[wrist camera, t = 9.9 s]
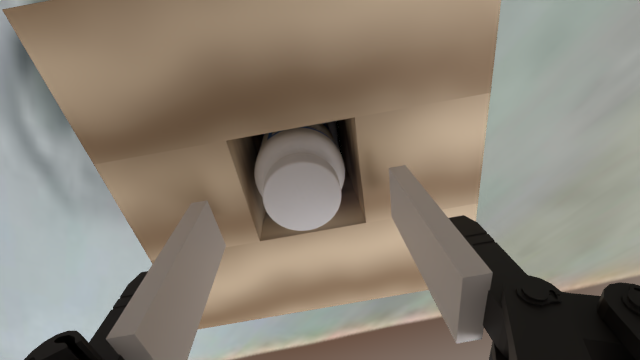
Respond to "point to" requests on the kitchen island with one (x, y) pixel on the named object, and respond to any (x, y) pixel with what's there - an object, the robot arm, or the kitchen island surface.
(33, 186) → the kitchen island surface
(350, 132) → the socket block
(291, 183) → the pill bottle
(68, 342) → the robot arm
